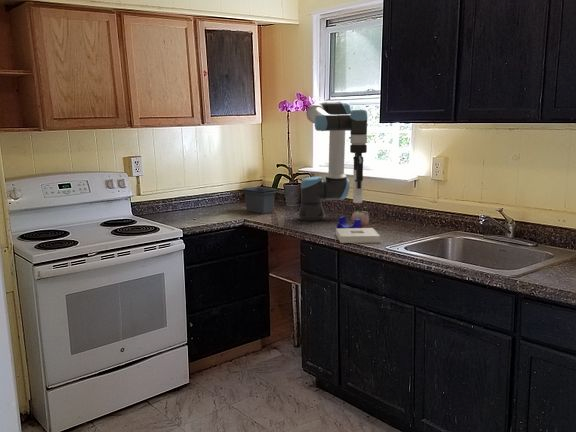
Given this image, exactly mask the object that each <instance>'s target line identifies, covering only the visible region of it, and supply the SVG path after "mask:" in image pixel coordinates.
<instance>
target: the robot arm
mask: <svg viewBox="0 0 576 432" xmlns="http://www.w3.org/2000/svg"><path fill="white" fill-rule="evenodd" d="M306 117H307V120H308V121H309V122H311V123H312V124H314V130H316V131H317V132H326V131H327V132H329V136H328V137H329V144H328V173H327V174H325V178H323V177H322V176H320V175H319V176H308V177H306V178H302V179H301V183H300V191H301V192H300V199H301V200H300V202H301V203H300V207H299V211H298V214H297V219H298V220H301V221H306V222H307V221H308V222H309V221H311V222H312V221H314V222H316V221H317V222H318V221H323V220H325V218H326V213H325V211H324V208H323V201H325V200H329V201H330V200H334V201H335V200H337V201H340V200H345V199H346V198H347V197H348V195H349V192H350V179H349V178H348V177H347V175H346V174H345V153H346V152H345V151H346V150H345V148H346V131H348V132H349V131H350V133H349V134H350V136H349V137H348V139H349V140H350V148H349V151H350V153H351V154H354V156H353V170H356V180H355V181H356V196H362V197H363V192H362V180H364V156H363V154H366V153H367V151H368V149H367V148H368V146H367V144H368V119H369V117H368V111H367V110H366V109H353V110H352V108H351V104H350V103H349V102H348V101H341V100H339V101H338V100H337V101H336V100H334V101H317V102H315V103H312V104H311V105H310V106H309V107H308V108H307V110H306Z"/></svg>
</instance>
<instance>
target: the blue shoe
mask: <svg viewBox="0 0 576 432" xmlns="http://www.w3.org/2000/svg"><path fill="white" fill-rule="evenodd" d="M336 228H361V219H357V220H355V221H354V224H353V223H352V226H351V225H349V224H348V222H347V218H346V216H339V218H338V222H337V223H336Z"/></svg>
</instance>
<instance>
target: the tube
mask: <svg viewBox="0 0 576 432" xmlns="http://www.w3.org/2000/svg"><path fill="white" fill-rule="evenodd" d="M352 172H353V173H352V174H353V175H352V177H353V182H352V186H353V187H352V189H353V190H352V191H353V192H352V195H353V196H352V203H354V204H361V203H363V195H362V196H356V181H355V180H356V170H354V169H353V171H352ZM363 180H364V179H363ZM363 180H362V193H363V189H364V187H363V184H364V181H363Z"/></svg>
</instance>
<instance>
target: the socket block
mask: <svg viewBox="0 0 576 432" xmlns="http://www.w3.org/2000/svg"><path fill="white" fill-rule="evenodd" d="M335 235H336V238H337V239H338V241H339V243H340V244H347V243H348V244H351V243H352V244H355V243H356V244H357V243H359V244H360V243H365V244H366V243H380V242H381V235H380V234H379V232H377V231H376V229H375V228H373V227H363V228H337V227H336V229H335Z"/></svg>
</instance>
